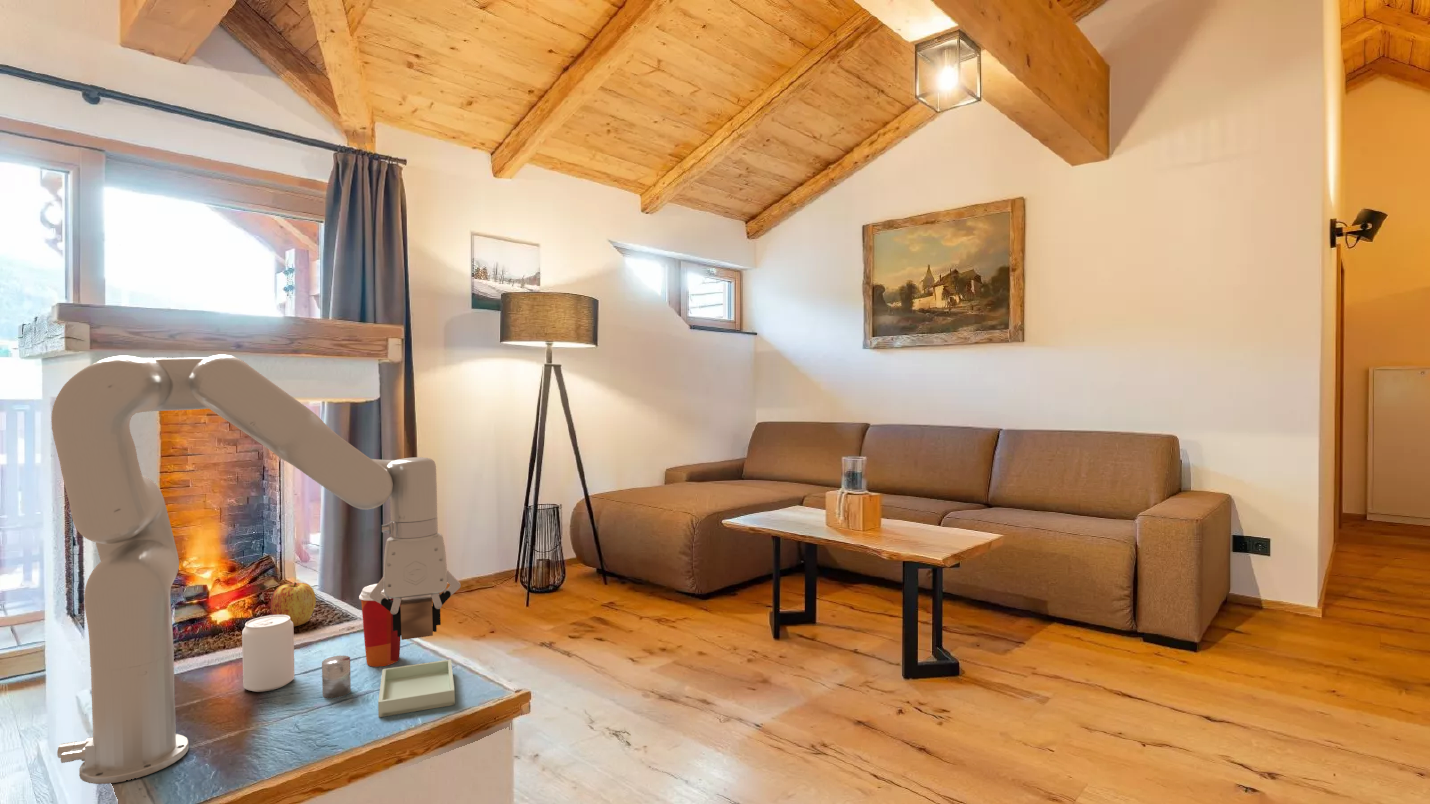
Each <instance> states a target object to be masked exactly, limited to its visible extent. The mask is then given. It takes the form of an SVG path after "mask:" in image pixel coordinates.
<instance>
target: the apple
mask: <svg viewBox="0 0 1430 804" xmlns="http://www.w3.org/2000/svg"><path fill="white" fill-rule="evenodd" d="M316 602H317V598H316V593H315V591H314V589H313V587H312V586H311V585H310V584H309V583H306V582H292V583H286V584H282V585H280V586H278V587H277V588H276V589H275V590H274V591H273V593H272V595H271V599H270V610H271V615H288V616H290V620H291V621H292V622H293V628H295V627H299V626H301V625H304V624H306V623H307V622H309V620H310V618H311V616H312V614H313V613H314V610H315V608H316V605H317V604H316Z"/></svg>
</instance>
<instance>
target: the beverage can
mask: <svg viewBox="0 0 1430 804" xmlns="http://www.w3.org/2000/svg"><path fill="white" fill-rule="evenodd" d="M294 628H295V627H293V622H292V621H291V620H290V616H288V615H273V614H269V615H264V616H260V617H255V618H253V619H250V620H248V621H246V622H245V624H244V628H243V629H242V631H241V643H242V650H241V651H242V686H243V688H244V689H245V690H248V691H252V692H257V693H261V692H263V693H264V692H269V691H274V690H276V689H277V690H278V689H280V688H282V687H284V686H286V685H287V684H289V683H291V682H292V681H293V680H294V679H295V675H296V674H295V643H294V642H295V641H294V640H295V638H294V637H295V635H294V631H295V630H294Z"/></svg>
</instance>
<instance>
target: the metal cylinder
mask: <svg viewBox="0 0 1430 804" xmlns="http://www.w3.org/2000/svg"><path fill="white" fill-rule="evenodd" d="M321 683H322V684H321V686H322V687H321V688H322V697H323V698H324V699H328V700H329V699H331V700H332V699H338V698H342V697H344V696H347V695H349V694H350V693H351V692H352V688H351V686H352V684H351V657H350V656H349V655H335V656H331V657H328V658H326V659H323V660H322V662H321Z"/></svg>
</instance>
